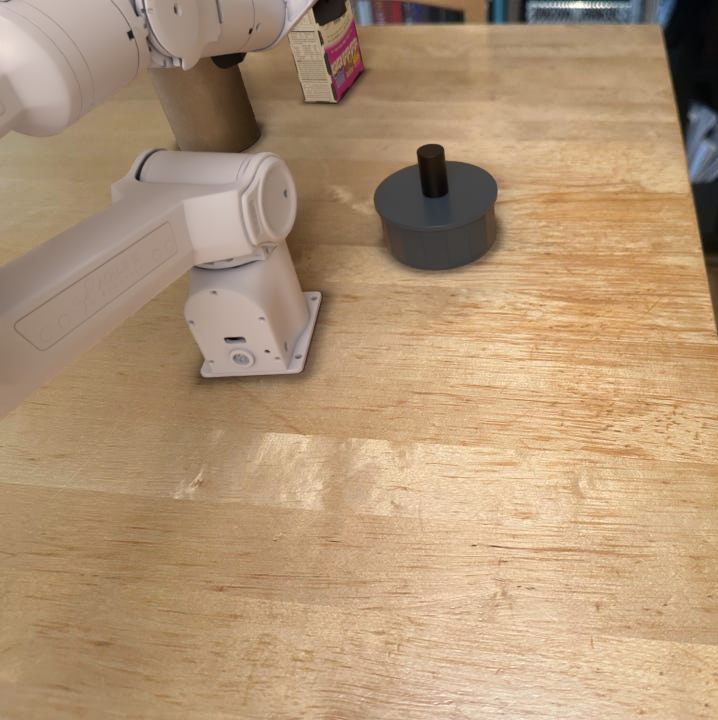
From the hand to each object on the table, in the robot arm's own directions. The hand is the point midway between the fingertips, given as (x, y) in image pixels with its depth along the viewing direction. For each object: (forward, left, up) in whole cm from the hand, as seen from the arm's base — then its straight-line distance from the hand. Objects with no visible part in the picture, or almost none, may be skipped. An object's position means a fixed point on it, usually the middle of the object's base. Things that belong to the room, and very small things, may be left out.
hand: (302, 4), depth 55 cm
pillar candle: (+15, +18, -19) cm, 30 cm away
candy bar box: (+29, +6, -19) cm, 35 cm away
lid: (-8, -10, -14) cm, 19 cm away
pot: (-8, -10, -19) cm, 23 cm away
